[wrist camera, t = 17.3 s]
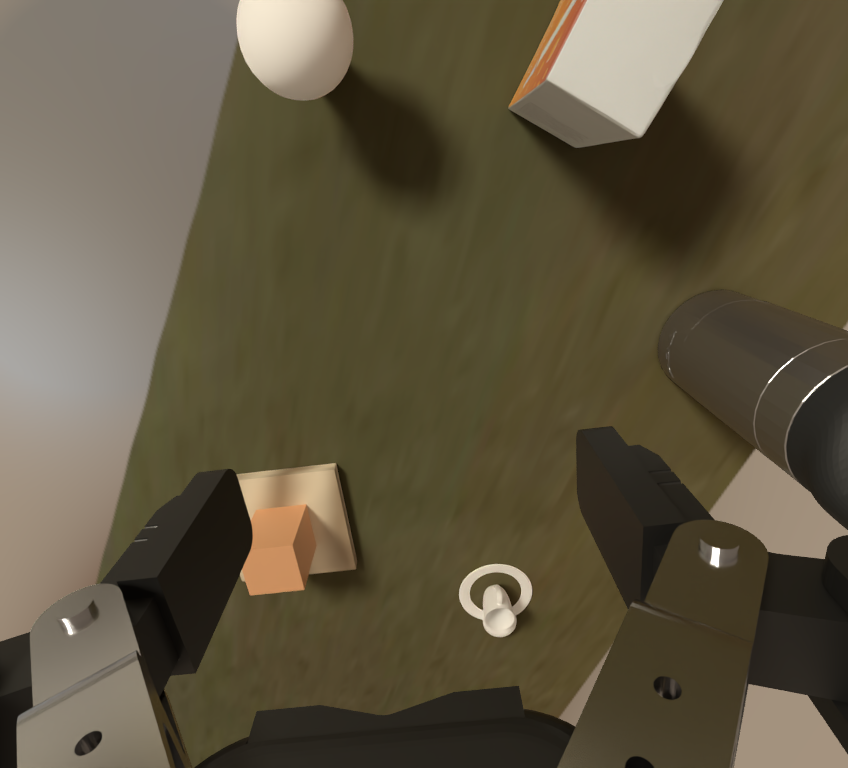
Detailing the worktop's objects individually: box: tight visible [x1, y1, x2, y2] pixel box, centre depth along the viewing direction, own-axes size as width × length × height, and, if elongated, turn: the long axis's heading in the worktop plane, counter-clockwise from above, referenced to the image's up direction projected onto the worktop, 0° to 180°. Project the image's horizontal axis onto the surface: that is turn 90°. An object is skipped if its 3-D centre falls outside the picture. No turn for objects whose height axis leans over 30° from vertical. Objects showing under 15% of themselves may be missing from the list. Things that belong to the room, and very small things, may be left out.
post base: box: [236, 463, 357, 581], centre depth 50 cm, size 12×12×5 cm
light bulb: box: [236, 0, 353, 101], centre depth 32 cm, size 7×7×11 cm
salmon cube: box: [242, 504, 317, 595], centre depth 48 cm, size 5×5×6 cm
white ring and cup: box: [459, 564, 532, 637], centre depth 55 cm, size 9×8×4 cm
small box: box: [508, 0, 723, 148], centre depth 32 cm, size 8×6×13 cm
